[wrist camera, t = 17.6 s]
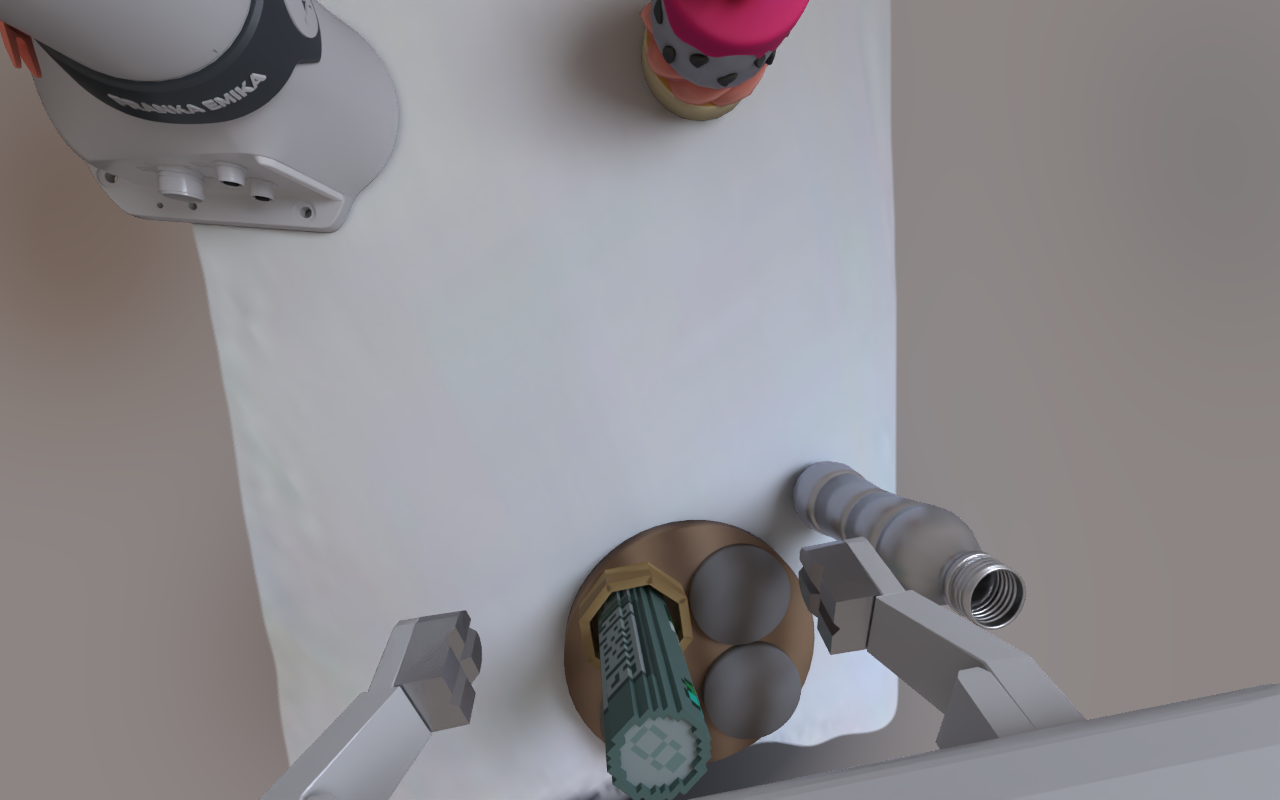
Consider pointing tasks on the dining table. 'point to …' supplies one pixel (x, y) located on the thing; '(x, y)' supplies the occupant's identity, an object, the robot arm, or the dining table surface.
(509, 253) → the dining table surface
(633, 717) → the can
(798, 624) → the wooden stone platter
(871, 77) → the dining table surface
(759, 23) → the cake
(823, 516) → the plastic bottle
